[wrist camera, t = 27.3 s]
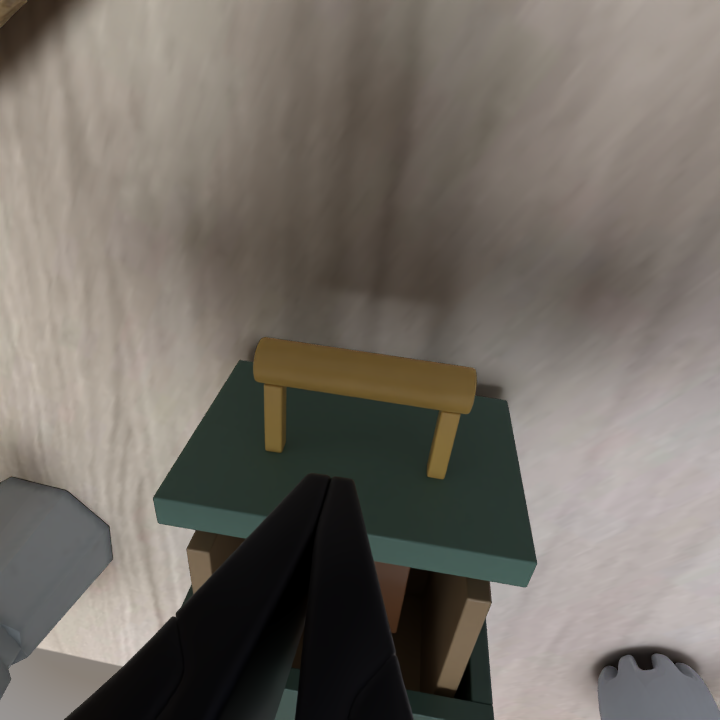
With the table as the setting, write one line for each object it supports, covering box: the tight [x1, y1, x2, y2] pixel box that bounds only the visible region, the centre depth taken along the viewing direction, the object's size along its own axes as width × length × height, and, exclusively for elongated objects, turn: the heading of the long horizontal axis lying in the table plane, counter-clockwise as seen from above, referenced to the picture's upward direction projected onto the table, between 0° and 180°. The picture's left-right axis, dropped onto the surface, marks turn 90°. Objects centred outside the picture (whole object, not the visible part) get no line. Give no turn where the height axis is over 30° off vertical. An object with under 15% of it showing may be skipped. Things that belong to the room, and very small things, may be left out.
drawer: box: [153, 337, 537, 698], centre depth 20 cm, size 18×11×8 cm, turn 175°
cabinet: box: [181, 585, 494, 720], centre depth 26 cm, size 15×13×10 cm
